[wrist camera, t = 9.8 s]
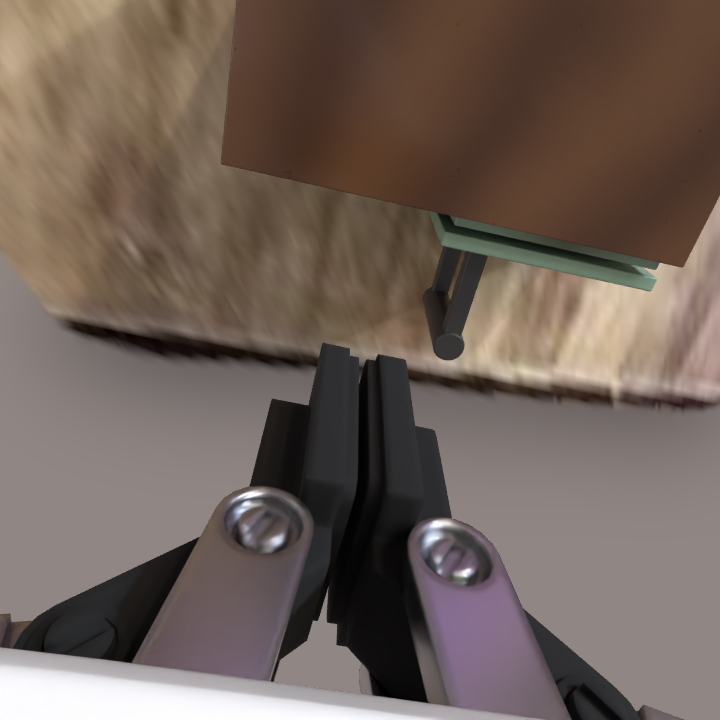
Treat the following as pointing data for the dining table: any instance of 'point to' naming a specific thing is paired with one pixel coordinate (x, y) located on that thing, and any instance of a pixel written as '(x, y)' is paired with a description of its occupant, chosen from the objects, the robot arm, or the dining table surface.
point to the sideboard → (492, 113)
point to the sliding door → (452, 314)
